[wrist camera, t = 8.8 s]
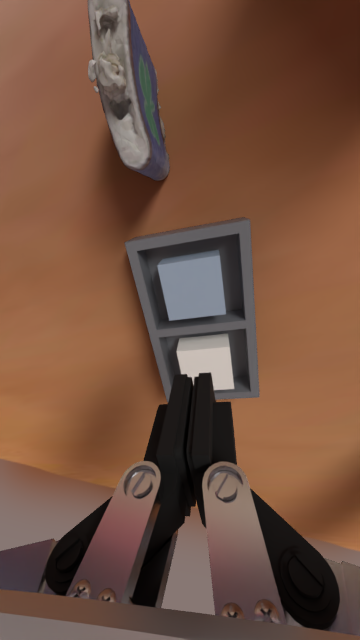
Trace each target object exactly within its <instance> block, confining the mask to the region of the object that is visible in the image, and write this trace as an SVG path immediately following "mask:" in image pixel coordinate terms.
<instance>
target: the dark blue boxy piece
mask: <svg viewBox="0 0 360 640" xmlns="http://www.w3.org/2000/svg"><path fill="white" fill-rule="evenodd" d="M88 15H89V24H90V37H91V46H92V56H93V60H90V61H89V66H88V76H89V79H90V80H91V82H94V80H95V78H96V79H97V86H98V88H97V87H94V90H95V91H96V93H98V89H99V94H100V98H101V102H102V106H103V110H104V113H105V116H106V119H107V123H108V126H109V129H110V132H111V135H112V138H113V141H114V144H115V147H116V149H117V151H118V154H119V157H120V158H121V160H122V162H123V163H124V165H125V166H126V167H127V168H129V169H131V170H134V171H137V172H139V173H141V174H143V175H145V176H148V177H150V178H152V179H153V180H157V181H159V180H163V179H165V178H166V177H167V175H168V173H169V168H170V167H169V155H168V154H167V151H166V147H165V129H164V123H163V122H162V121H161V117H160V116H159V109H160V108H161V106H160V104H159V102H158V98H157V95H158V91H159V90H158V84H157V81H158V80H157V76H156V74H157V73H156V70H155V68H154V66H153V64H152V62H151V59H150V56H149V54H148V51H147V48H146V45H145V42H144V40H143V38H142V35H141V33H140V30H139V27H138V24H137V22H136V19H135V16H134V14H133V11H132V9H131V6H130V2H129V0H88Z"/></svg>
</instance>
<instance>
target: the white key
mask: <svg viewBox="0 0 360 640" xmlns="http://www.w3.org/2000/svg"><path fill="white" fill-rule="evenodd" d="M176 352H177V357H178V361H179V366H180V370H181V374H187V376H188V377H192V381H193V386H194V377H197V376H199V373H209V372H211V375H212V381H213V387H214V390H226V389H234V382H233V373H232V363H231V354H230V345H229V338H228V333H227V334H217V335H207V336H198V337H188V338H179V342H178V347H177V351H176Z"/></svg>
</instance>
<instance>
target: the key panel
mask: <svg viewBox="0 0 360 640" xmlns="http://www.w3.org/2000/svg"><path fill="white" fill-rule="evenodd" d="M125 246H126V250H127V253H128V257H129V261H130V265H131V268H132V272H133V276H134V280H135V283H136V287H137V291H138V295H139V298H140V302H141V306H142V309H143V313H144V317H145V321H146V324H147V328H148V332H149V336H150V339H151V343H152V347H153V350H154V354H155V358H156V362H157V365H158V369H159V373H160V377H161V380H162V384H163V388H164V391H165V395H166V399H167V402H168V401H169V397H170V393H171V388H172V384H173V379H174V376H175V375H178V374H181V370H180V366H179V361H178V357H177V352H176V351H177V347H178V342H179V338H188V337H198V336H207V335H217V334H227V333H228V338H229V345H230V354H231V363H232V373H233V382H234V389H226V390H214V394H215V400H216V399H235V398H254V397H259V379H258V360H257V342H256V323H255V305H254V286H253V267H252V249H251V230H250V219H247V218H245V217H242V218H237V219H231V220H226V221H221V222H215V223H210V224H204V225H199V226H194V227H188V228H183V229H177V230H172V231H167V232H161V233H156V234H150V235H145V236H139V237H135V238H133V239H131V240H129V241H127V242H125ZM214 250H219V254H220V263H221V272H222V281H223V290H224V299H225V309H226V314H223V315H215V316H206V317H197V318H189V319H180V320H171V321H169V317H168V312H167V308H166V303H165V299H164V294H163V290H162V285H161V281H160V276H159V272H158V267H157V265H158V264H159V263H160V261H161V260H162V259H165V258H171V257H177V256H183V255H189V254H195V253H201V252H208V251H214Z"/></svg>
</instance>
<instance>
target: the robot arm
mask: <svg viewBox="0 0 360 640" xmlns="http://www.w3.org/2000/svg"><path fill="white" fill-rule="evenodd" d="M196 501H197V505H198V509H199V513H200V517H201V520H202V524H203V525H204V526H205V528H206V529H207V538H208V548H209V556H210V557H209V558H210V568H211V577H212V588H213V598H214V607H215V615H209V614H202V613H194V612H186V611H178V610H171V609H163V608H161V606H162V602H163V597H164V593H165V589H166V584H167V580H168V576H169V571H170V567H171V562H172V558H173V554H174V549H175V545H176V541H177V536H178V529H179V528H180V527H181V526H182V524H183V523H184V521H185V516H190V510H191V506H193V507H195V505H196ZM0 640H360V567H359V566H356V565H353V564H350V563H347V562H344V561H342V562H341V564H340V563H337V562H335V561H332V560H329V559H326V558H323V556H322V555H321V554H320V553H319V552H318V551H317V550H316V549H315V548H313V546H311V545H310V544H309V543H308V542H307V541H306V540H305V539H304V538H303V537H302V536H301V535H300V534H299V533H298V532H296V531H295V530H294V529H293V528H292V527H291V526H290V525H289V524H288V523H287V522H286V521H285V520H284V519H283V518H282V517H280V516H279V515H278V514H277V513H276V512H275V511H274V510H273V509H272V508H271V507H270V506H269V505H268V504H267V503H265V502H264V501H263V500H262V499H261V498H260V497H259V496H258V495H257V494H256V493H255V492H254V491H253V490H252V489H250V487H249V483H248V480H247V477H246V475H245V473H244V472H243V471H242V469H241V468H240V467H238V466H237V461H236V450H235V438H234V427H233V418H232V409H231V402H216V400H215V394H214V387H213V381H212V375H211V372H209V373H199V376H197V377H194V386H193V381H192V377H188V376H187V374H178V375H175V376H174V379H173V384H172V388H171V393H170V397H169V401H168V404H163V405H159V407H158V410H157V413H156V417H155V421H154V424H153V428H152V432H151V435H150V439H149V443H148V446H147V450H146V454H145V457H144V461H141V462H138V463H135V464H134V465H132V466H130V467H129V468H128V469H127V470H126V471H125V473H124V474H123V476H122V477H121V479H120V482H119V484H118V486H117V488H116V490H115V492H114V494H113V496H112V497H111V498H110V499H108V500H107V501H106V502H105V503H104V504H102V505H101V506H100V507H99V508H97V509H96V510H95V511H94V512H93V513H91V514H90V515H89V516H88V517H86V518H85V519H84V520H83V521H81V522H80V523H79V524H78V525H76V526H75V527H74V528H73V529H72V530H70V531H69V532H68V533H67V534H66V535H64V536H63V537H62V538H61V539H60V540H58V541H55V540H54V539H49V540H45V541H41V542H36V543H32V544H28V545H24V546H19V547H15V548H11V549H7V550H3V551H0Z"/></svg>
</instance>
